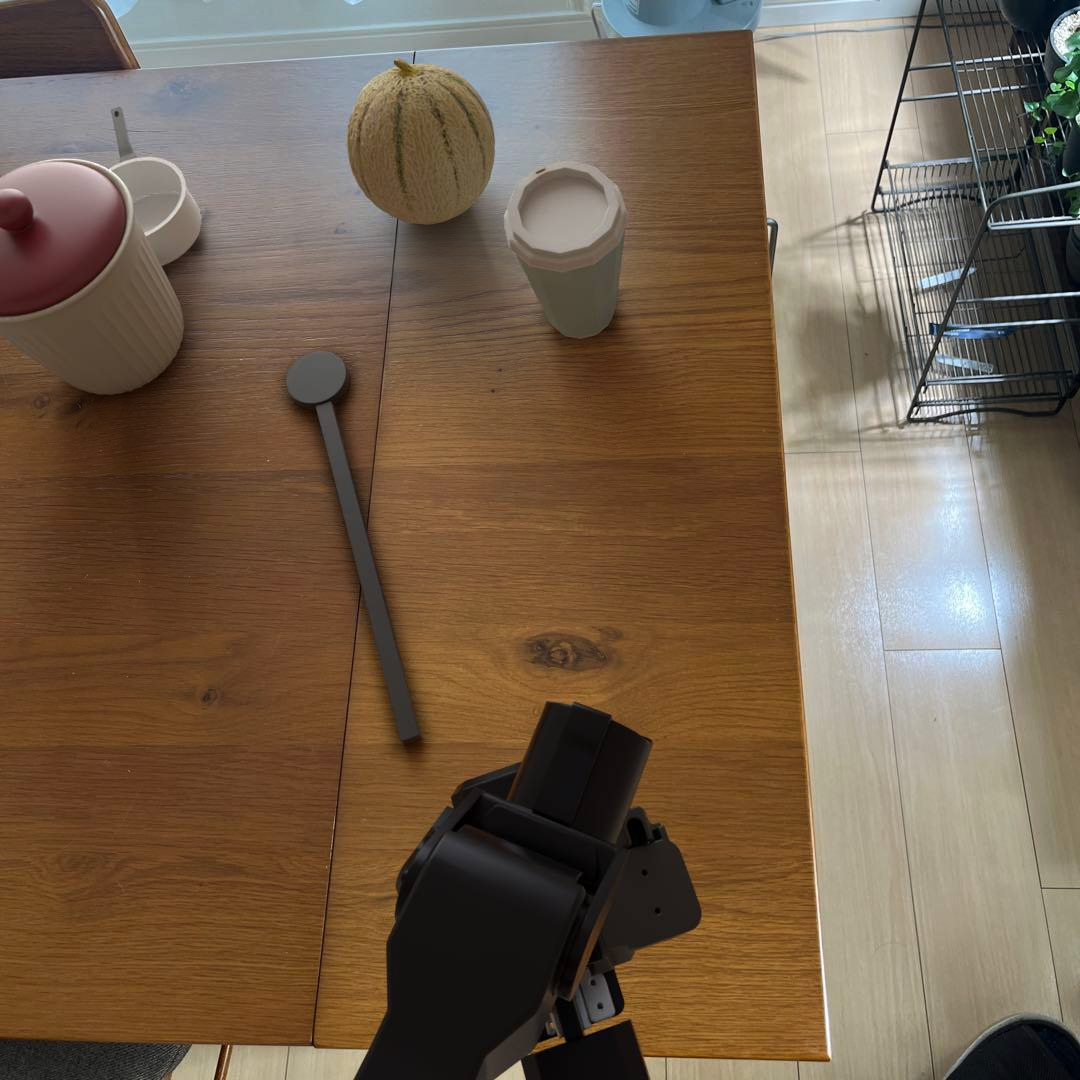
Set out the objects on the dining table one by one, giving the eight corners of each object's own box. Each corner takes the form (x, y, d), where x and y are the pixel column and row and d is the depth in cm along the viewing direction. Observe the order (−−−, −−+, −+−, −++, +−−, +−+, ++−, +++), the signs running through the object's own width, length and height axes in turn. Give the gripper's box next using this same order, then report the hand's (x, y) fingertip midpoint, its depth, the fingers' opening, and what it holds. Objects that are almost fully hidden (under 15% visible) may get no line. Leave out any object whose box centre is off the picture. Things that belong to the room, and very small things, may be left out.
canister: (227, 272, 101) (125, 108, 82) (197, 420, 94) (77, 278, 74) (66, 282, 103) (-70, 124, 84) (25, 427, 96) (-135, 291, 77)
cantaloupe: (407, 277, 98) (365, 165, 84) (347, 188, 104) (299, 70, 90) (532, 210, 99) (511, 90, 86) (466, 127, 106) (437, 2, 92)
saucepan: (188, 131, 110) (165, 90, 105) (217, 257, 102) (194, 219, 97) (92, 163, 110) (65, 124, 105) (114, 292, 102) (85, 256, 97)
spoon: (448, 729, 78) (445, 725, 77) (378, 753, 78) (373, 750, 77) (342, 350, 95) (338, 343, 94) (284, 369, 95) (280, 362, 94)
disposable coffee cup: (653, 329, 92) (651, 217, 78) (553, 378, 91) (533, 273, 77) (602, 254, 96) (591, 136, 82) (506, 300, 95) (479, 188, 82)
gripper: (758, 1081, 43) (735, 1054, 58) (621, 699, 51) (630, 758, 66) (525, 1162, 43) (559, 1116, 57) (423, 766, 51) (475, 811, 65)
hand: (560, 938), depth 61 cm, fingers closed on lighter, 3 cm apart
